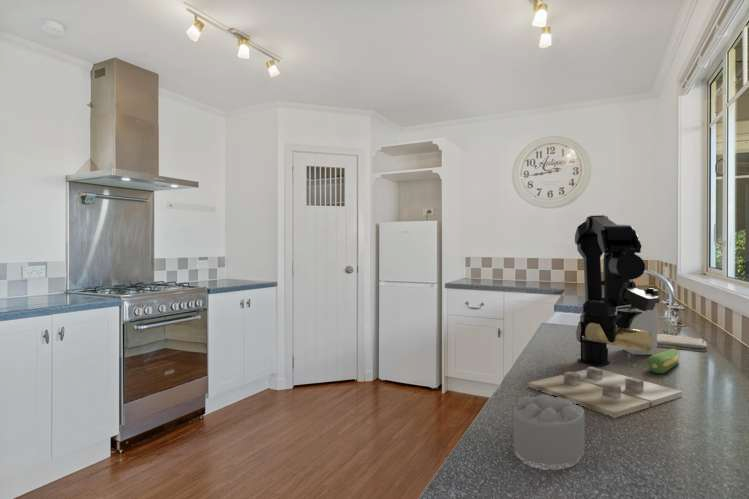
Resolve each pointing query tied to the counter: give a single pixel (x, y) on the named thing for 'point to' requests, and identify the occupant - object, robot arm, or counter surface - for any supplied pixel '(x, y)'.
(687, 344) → the washcloth
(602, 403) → the hinge leaves
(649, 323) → the milk carton
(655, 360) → the edible corn
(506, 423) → the counter surface
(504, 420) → the counter surface
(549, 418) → the lumpy-topped squat cylinder
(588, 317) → the robot arm
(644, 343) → the hinge pin
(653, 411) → the counter surface
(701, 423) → the counter surface
